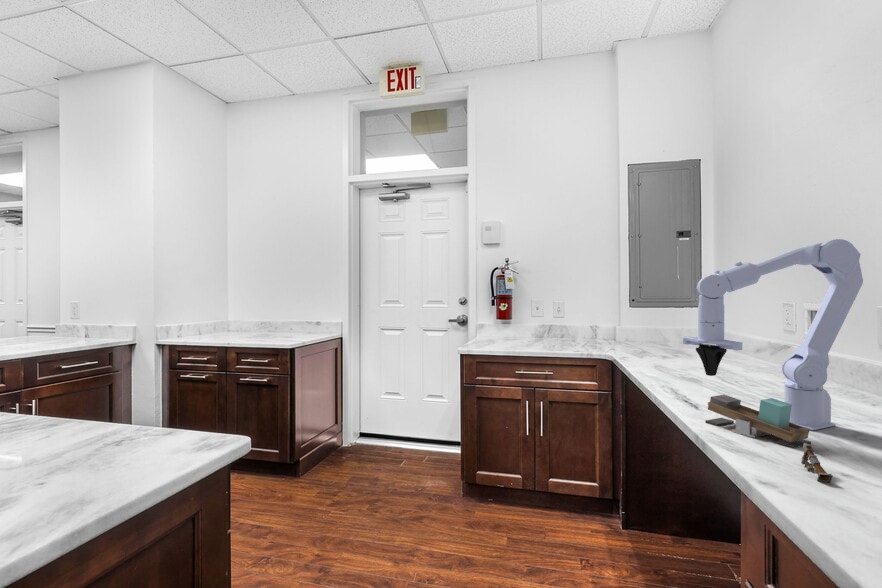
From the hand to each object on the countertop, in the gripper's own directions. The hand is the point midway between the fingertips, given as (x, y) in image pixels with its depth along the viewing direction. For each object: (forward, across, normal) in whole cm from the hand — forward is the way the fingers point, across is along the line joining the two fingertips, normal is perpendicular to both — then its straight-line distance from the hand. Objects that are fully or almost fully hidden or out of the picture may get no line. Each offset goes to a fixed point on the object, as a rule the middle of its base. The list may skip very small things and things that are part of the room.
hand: (710, 375), depth 113 cm
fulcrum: (+10, +13, -4) cm, 17 cm away
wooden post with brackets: (+11, +31, -18) cm, 38 cm away
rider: (+8, +17, -4) cm, 19 cm away
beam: (+8, +13, -4) cm, 16 cm away
